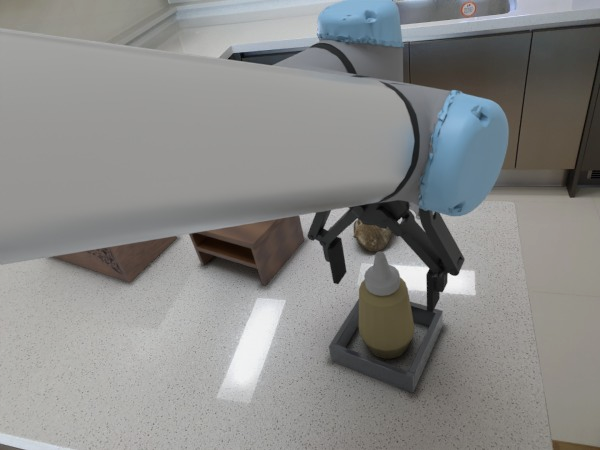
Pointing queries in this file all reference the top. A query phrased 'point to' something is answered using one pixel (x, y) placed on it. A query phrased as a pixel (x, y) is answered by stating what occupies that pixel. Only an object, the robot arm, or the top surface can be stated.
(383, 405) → the top surface
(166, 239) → the tissue box cover
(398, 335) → the squeeze bottle
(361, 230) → the fossilized seashell
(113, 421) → the top surface
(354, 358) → the holder
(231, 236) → the wooden shelf
